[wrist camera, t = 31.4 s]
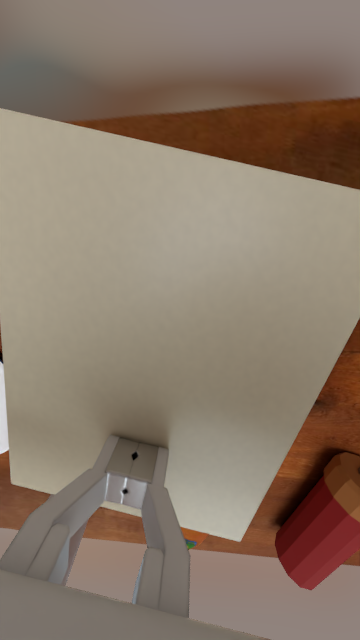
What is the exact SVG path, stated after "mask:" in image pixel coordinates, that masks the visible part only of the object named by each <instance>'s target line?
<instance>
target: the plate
mask: <svg viewBox="0 0 360 640" xmlns="http://www.w3.org/2000/svg"><path fill="white" fill-rule="evenodd" d="M7 450H9V443H8V428H7V413H6V398H5V383H4V367H3V362H2V361H1V360H0V454H2V453H4V452H6V451H7Z"/></svg>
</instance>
